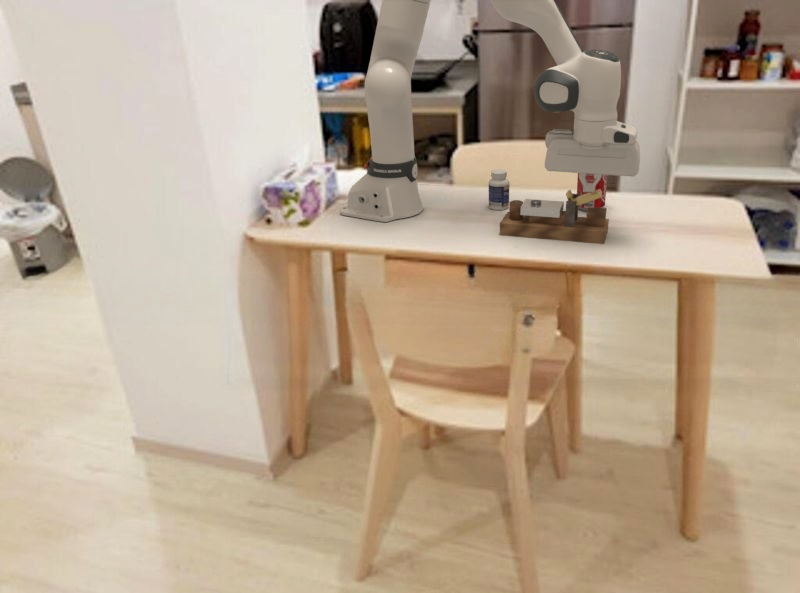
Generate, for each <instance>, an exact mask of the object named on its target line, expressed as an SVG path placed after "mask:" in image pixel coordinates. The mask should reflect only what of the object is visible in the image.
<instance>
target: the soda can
mask: <svg viewBox="0 0 800 593" xmlns="http://www.w3.org/2000/svg"><path fill="white" fill-rule="evenodd" d="M585 179H586V181H587V183H593V182H594V181H595V179H594V174H587V175H586V177H585ZM607 182H608V175H602V176H601V179H600V180H599V182H598V183H597V184H596V186H595V190H598V189H601V191H602V196H601V198H598V199H595V200H592V201H589V202H587V203H584V204H581V205H578V210H581V211H582V212H587V210H588V208H589V207H595V208H605V206H606V197H607V185H608V184H607ZM576 184H577V186H576V194H579V196H581V195H584V194H586V193H587V192H583V184H582V183H581V181H580V179H579V173H577V183H576Z"/></svg>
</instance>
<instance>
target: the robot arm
mask: <svg viewBox="0 0 800 593" xmlns="http://www.w3.org/2000/svg"><path fill="white" fill-rule="evenodd" d="M431 1H432V0H381V5H380V8H379V15H378V18H377V19H378V20H377V25H376V29H375V34H374V37H373V38H374V39H373V44H372V49H371V54H370V60H369V63H368V68H367V73H366V75H365V78H364V93H365V103H366V109H367V110H366V111H367V119H368V126H369V134H370V148H371V157H370V159H369V160H367V161H366V163H364V164H363V166H364V167H363V169H364V170H367V172H366V173H365V174H364V175H363V176H362V177H360V178H359V179H358V180H357V181H356V182H355V183H354V184H353V185H352V186H351V187H350V189H349V191H348V194H347V201H346V202H345V203H344V204H343V205H342V206H341V207H340V215H342V216H347V217H352V218H359V219H363V220H364V219H365V220H369V221H375V222H380V223H386V222H387V223H388V222H391V221H395V220H398V219H399V220H400V219H405V218H410V217H413V216H417V215H419V214H420V213H422V212H423V210H424V205H423V203H422V202H423V201H422V199H421V195H420V191H419V187H418V186H419V185H418V180H417V179H418V163H417V156H416V155H415V138H414V136H415V135H414V120H413V105H412V103H413V102H412V80H411V79H412V75H413V71H414V68H415V63H416V59H417V56H418V52H419V48H420V46H421V41H422V38H423V34H424V31H425V27H426V26H425V25H426V22H427V18H428V12H429V9H430V6H431V4H430V3H431ZM489 2H490V3H491V4H492V6H493V8H494V9H495V10H496V12H497V13H498V15H499V16H500V17H502V18H503V19H505V20H507V21H509V22H512V23H516V24H519V25H523V26H524V27H527V28H529V29H531V30H533V31H534V32H536V34H538V35H539V36H540V37H541V39H542V40H543V42H544V44H545V47H546V48H547V50H548V52H549V53H550V54H551V57H552V58H553V60H554V61H555V63H556V66H555V65H554V66H553V67H550V68H547V69H544V70H543V71H542V72H541V73H539V74H538V76H537V77H536V80H535V82H534V86H533V87H534V88H533V93H534V99H535V101H536V103H537V105H538V106H539V107H540V108H541V109H542V110H543V111H545V112H548V113H561V112H567V111H569V112H570V111H572V112H573V113H574V122H573V129H572V128H571V129H570V128H569V129H567V128H566V129H559V128H553V129H552V130H550V131H547V133H546V134H545V138H544V140H545V141H544V142H545V147H546V148H547V149H546V152H545V160H544V168H545V169H546V171H547V172H555V173H556V172H559V173H570V174H571V173H572V174H574V173H575V174H578V173H579V179H580V181H581V183H582V184H583V192H587V193H594V192H595V186H596V184H597V183H598V182H599V180H600V179H601V176H602V175H607V176H617V177H619V176H621V177H631V178H633V177H635V176H637V175H638V173H640V165H641V151H640V150H641V149H640V145H639V141H638V140H637V138H638V129H637V128H636V127H635V126H632V125H629V124H627V123H624V122H621V121H618V110H617V105H618V102H619V99H620V97H621V84H622V67H621V66H622V65H621V61H620V58H619V56H618V55H616V54H615V53H613V52H612V51H607V50H603V49H588V50H584V48H583V46H582V45H581V44H580V41H579V40H578V38H577V37H576V35H575V33H574V32H573V29H572V28H571V26H570V24H569V23H568V20H567V18H566V17H565V15H564V14H563V12H562V10H561V9H560V7H559V6H558V4H557V3H556V1H555V0H489ZM587 174H594V179H595V181H594V182H593V183H587V181H586V179H585V177H586V175H587Z"/></svg>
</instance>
